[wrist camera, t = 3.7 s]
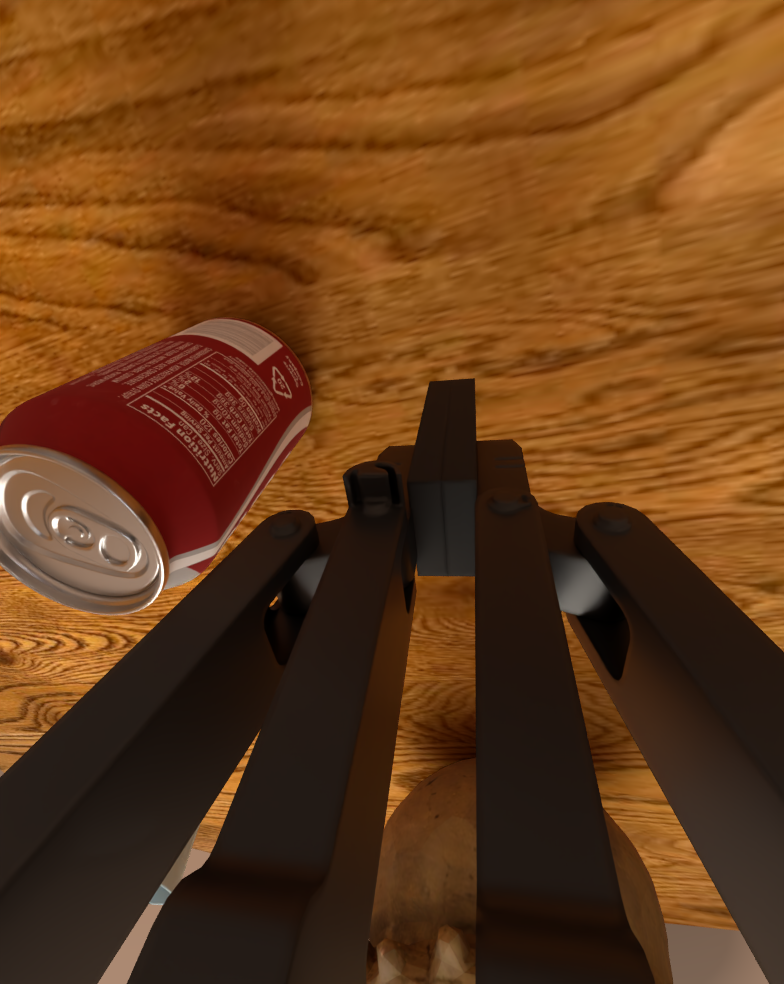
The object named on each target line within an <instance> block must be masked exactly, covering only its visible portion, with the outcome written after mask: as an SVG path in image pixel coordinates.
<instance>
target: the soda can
mask: <svg viewBox="0 0 784 984" xmlns="http://www.w3.org/2000/svg"><path fill="white" fill-rule="evenodd" d="M312 403H313V401H312V391H311V386H310V382H309V379H308V376H307V374H306V371H305V369H304V367H303V365H302V364H301V362H300V360H299V359H298V357H297V356H296V354H295V353H294V352H293V351H292V349H291V348H290V347H289V346H288V345H287V344H286V343H285V342H284V341H283V340H282V339H281V338H279V337H278V336H277V335H276V334H274V333H273V332H272V331H270V330H268V329H267V328H265V327H263V326H261V325H259V324H257V323H254V322H252V321H249V320H245V319H241V318H235V317H219V318H213V319H209V320H206V321H204V322H201V323H199V324H197V325H195V326H192V327H190V328H188V329H186V330H183V331H181V332H179V333H177V334H175V335H172V336H170V337H168V338H166V339H164V340H161V341H159V342H157V343H155V344H152V345H150V346H148V347H146V348H144V349H141V350H139V351H137V352H135V353H132V354H130V355H128V356H126V357H124V358H121V359H119V360H117V361H115V362H112V363H110V364H108V365H106V366H104V367H101V368H99V369H97V370H95V371H92V372H90V373H88V374H86V375H84V376H81V377H79V378H77V379H75V380H73V381H70V382H68V383H66V384H64V385H61V386H59V387H57V388H55V389H53V390H50V391H48V392H46V393H44V394H41V395H39V396H37V397H35V398H33V399H30V400H28V401H26V402H24V403H23V404H21V405H19V406H18V407H16V408H15V409H14V410H13V411H12V412H10V413H9V414H8V415H7V417H6V418H5V419H4V420H3V422H2V423H1V425H0V566H2V567H3V568H4V569H5V570H6V571H7V572H8V573H10V574H11V575H12V576H13V577H15V578H16V579H17V580H19V581H20V582H22V583H23V584H25V585H26V586H28V587H29V588H31V589H32V590H34V591H36V592H37V593H39V594H41V595H43V596H45V597H47V598H49V599H51V600H53V601H55V602H57V603H60V604H62V605H65V606H68V607H71V608H74V609H77V610H80V611H84V612H89V613H94V614H101V615H124V614H130V613H134V612H137V611H139V610H142V609H144V608H145V607H147V606H149V605H150V604H151V603H152V602H153V601H155V600H156V598H157V597H158V596H159V595H160V594H161V592H162V591H163V590H165V589H169V588H172V587H176V586H179V585H182V584H184V583H186V582H189V581H191V580H192V579H194V578H195V577H197V576H198V575H200V574H201V573H202V572H203V571H204V570H205V569H206V568H207V567H208V566H209V565H210V563H211V562H212V561H213V559H214V558H215V556H216V555H217V554H218V552H219V551H220V550H221V548H222V547H223V545H224V544H225V543H226V541H227V540H228V538H229V537H230V536H231V534H232V533H233V531H234V530H235V529H236V527H237V526H238V525H239V523H240V522H241V520H242V519H243V518H244V516H245V515H246V513H247V512H248V511H249V509H250V508H251V507H252V505H253V504H254V502H255V501H256V500H257V498H258V497H259V495H260V494H261V493H262V491H263V490H264V488H265V487H266V486H267V484H268V483H269V482H270V480H271V479H272V477H273V476H274V475H275V473H276V472H277V470H278V469H279V468H280V466H281V465H282V463H283V462H284V461H285V459H286V458H287V457H288V455H289V454H290V452H291V451H292V450H293V448H294V447H295V445H296V444H297V443H298V441H299V440H300V438H301V437H302V436H303V434H304V433H305V431H306V429H307V427H308V425H309V422H310V418H311V414H312Z"/></svg>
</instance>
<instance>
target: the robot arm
mask: <svg viewBox="0 0 784 984" xmlns="http://www.w3.org/2000/svg"><path fill="white" fill-rule="evenodd" d="M343 480H344V485H345V490H346V495H347V500H348V505H349V508H348V510H347V513H346V515H345V516H344V517H342V518H339V519H336V520H332V521H328V522H323V523H319V524H315V520H314V517H313V516H312V515H311V514H310V513H309V512H306V511H303V510H286V511H282V512H279V513H277V514H275V515H272V516H270V517H268V518H267V519H266V520H264V521H263V522H262V523H261V524H259V525H258V526H257V527H256V528H255V529H254V530H253V531H252V532H251V533H250V534H249V535H248V536H247V537H246V538H245V539H244V540H243V541H242V542H241V543H240V544H239V545H238V546H237V547H236V548H235V549H234V550H233V551H232V552H231V553H230V554H229V555H228V556H227V557H226V558H225V559H224V560H223V561H222V562H221V563H220V564H218V565H217V566H216V567H215V568H214V569H213V570H212V571H211V572H210V573H209V574H208V575H207V576H206V577H205V578H204V579H203V580H202V581H201V582H200V583H199V584H198V585H197V586H196V587H195V588H194V589H193V590H192V591H191V592H190V593H189V594H188V595H187V596H186V597H185V598H184V599H183V600H182V601H181V602H180V603H178V604H177V605H176V606H175V607H174V608H173V609H172V610H171V611H170V612H169V613H168V614H167V615H166V616H165V617H164V618H163V619H162V620H161V621H160V622H159V623H158V624H157V625H156V626H155V627H154V628H153V629H152V630H151V631H150V632H149V633H148V634H147V635H146V636H145V637H144V638H143V639H142V640H141V641H140V642H139V643H137V644H136V645H135V646H134V647H133V648H132V649H131V650H130V651H129V652H128V653H127V654H126V655H125V656H124V657H123V658H122V659H121V660H120V661H119V662H118V663H117V664H116V665H115V666H114V667H113V668H112V669H111V670H110V671H109V672H108V673H107V674H106V675H105V676H104V677H103V678H102V679H101V680H100V681H99V682H98V683H96V684H95V685H94V686H93V687H92V688H91V689H90V690H89V691H88V692H87V693H86V694H85V695H84V696H83V697H82V698H81V699H80V700H79V701H78V702H77V703H76V704H75V705H74V706H73V707H72V708H71V709H70V710H69V711H68V712H67V713H66V714H65V715H64V716H63V717H62V718H61V719H60V720H59V721H58V722H56V723H55V724H54V725H53V726H52V727H51V728H50V729H49V730H48V731H47V732H46V733H45V734H44V735H43V736H42V737H41V738H40V739H39V740H38V741H37V742H36V743H35V744H34V745H33V746H32V747H31V748H30V749H29V750H28V751H27V752H26V753H25V754H24V755H23V756H22V757H21V758H20V759H19V760H18V761H17V762H15V763H14V764H13V765H12V766H11V767H10V768H9V769H8V770H7V771H6V772H5V773H4V774H3V775H2V776H1V777H0V984H97V983H98V982H99V980H100V979H101V977H102V976H103V974H104V972H105V971H106V969H107V968H108V966H109V965H110V963H111V961H112V960H113V958H114V957H115V955H116V954H117V952H118V951H119V949H120V948H121V946H122V944H123V943H124V941H125V940H126V938H127V937H128V935H129V933H130V932H131V930H132V929H133V927H134V926H135V924H136V922H137V921H138V919H139V918H140V916H141V915H142V913H143V912H144V910H145V909H146V907H147V905H148V904H149V902H150V901H151V899H152V898H153V896H154V895H155V893H156V891H157V890H158V888H159V887H160V885H161V884H162V882H163V880H164V879H165V877H166V876H167V874H168V873H169V871H170V870H171V868H172V866H173V865H174V863H175V862H176V860H177V859H178V857H179V856H180V854H181V852H182V851H183V849H184V848H185V846H186V845H187V843H188V842H189V840H190V838H191V837H192V835H193V834H194V832H195V831H196V829H197V827H198V826H199V824H200V823H201V821H202V820H203V818H204V817H205V815H206V813H207V812H208V810H209V809H210V807H211V806H212V804H213V803H214V801H215V799H216V798H217V796H218V795H219V793H220V792H221V790H222V789H223V787H224V785H225V784H226V782H227V781H228V779H229V778H230V776H231V774H232V773H233V771H234V770H235V768H236V767H237V765H238V764H239V762H240V760H241V759H242V757H243V756H244V754H245V753H246V751H247V750H248V748H249V746H250V745H251V743H252V742H253V740H254V739H255V737H256V736H257V734H258V732H259V731H260V733H259V735H258V738H257V740H256V743H255V746H254V748H253V751H252V753H251V756H250V758H249V761H248V763H247V766H246V768H245V771H244V773H243V776H242V778H241V781H240V783H239V786H238V789H237V791H236V794H235V796H234V799H233V801H232V804H231V806H230V809H229V811H228V814H227V816H226V819H225V821H224V824H223V826H222V829H221V832H220V834H219V837H218V839H217V842H216V844H215V846H214V848H213V850H212V852H211V854H210V857H209V858H208V860H207V861H206V862H205V863H204V865H203V866H202V867H201V868H199V869H198V870H196V871H194V872H193V873H191V874H190V875H188V876H187V877H185V878H183V879H182V880H181V881H180V882H179V883H178V885H177V886H176V887H175V888H174V890H173V891H172V892H171V894H170V895H169V896H168V897H167V899H166V901H165V903H164V904H163V906H162V908H161V910H160V912H159V914H158V916H157V918H156V920H155V922H154V924H153V926H152V928H151V930H150V932H149V934H148V937H147V939H146V941H145V943H144V946H143V948H142V950H141V953H140V955H139V957H138V960H137V962H136V964H135V966H134V969H133V971H132V973H131V976H130V978H129V980H128V983H127V984H366V961H367V949H368V940H369V933H370V926H371V918H372V911H373V904H374V897H375V889H376V882H377V875H378V867H379V860H380V853H381V846H382V838H383V831H384V824H385V816H386V809H387V802H388V795H389V787H390V780H391V773H392V765H393V758H394V751H395V744H396V736H397V729H398V722H399V714H400V707H401V700H402V693H403V685H404V678H405V671H406V664H407V656H408V649H409V642H410V634H411V627H412V620H413V613H414V605H415V598H416V584H415V576H414V575H415V569H416V563H417V571H418V576H475V658H476V861H477V903H476V956H475V984H655V980H654V977H653V974H652V971H651V968H650V966H649V963H648V960H647V957H646V955H645V952H644V949H643V948H642V946H641V944H640V943H639V941H638V940H637V938H636V936H635V935H634V933H633V931H632V930H631V928H630V925H629V922H628V919H627V916H626V913H625V909H624V905H623V901H622V897H621V892H620V887H619V882H618V878H617V873H616V868H615V864H614V859H613V854H612V850H611V845H610V840H609V835H608V831H607V826H606V821H605V817H604V812H603V807H602V803H601V798H600V793H599V788H598V784H597V779H596V774H595V770H594V765H593V760H592V756H591V751H590V746H589V741H588V737H587V732H586V727H585V723H584V718H583V713H582V709H581V704H580V699H579V694H578V690H577V685H576V680H575V676H574V671H573V666H572V662H571V657H570V652H569V647H568V643H567V638H566V633H565V629H564V624H563V619H562V615H561V611H563V612H566V615H567V619H568V622H569V623H570V625H571V627H572V629H573V631H574V632H575V634H576V636H577V638H578V640H579V641H580V643H581V645H582V647H583V649H584V650H585V652H586V654H587V656H588V658H589V659H590V661H591V663H592V665H593V667H594V668H595V670H596V672H597V674H598V676H599V677H600V679H601V681H602V683H603V685H604V686H605V688H606V690H607V692H608V694H609V695H610V697H611V699H612V701H613V703H614V705H615V706H616V708H617V710H618V712H619V714H620V715H621V717H622V719H623V721H624V723H625V724H626V726H627V728H628V730H629V732H630V733H631V735H632V737H633V739H634V741H635V742H636V744H637V746H638V748H639V750H640V751H641V753H642V755H643V757H644V759H645V760H646V762H647V764H648V766H649V768H650V769H651V771H652V773H653V775H654V777H655V778H656V780H657V782H658V784H659V786H660V787H661V789H662V791H663V793H664V795H665V796H666V798H667V800H668V802H669V804H670V806H671V807H672V809H673V811H674V813H675V815H676V816H677V818H678V820H679V822H680V824H681V825H682V827H683V829H684V831H685V833H686V834H687V836H688V838H689V840H690V842H691V843H692V845H693V847H694V849H695V851H696V852H697V854H698V856H699V858H700V860H701V861H702V863H703V865H704V867H705V869H706V870H707V872H708V874H709V876H710V878H711V879H712V881H713V883H714V885H715V887H716V888H717V890H718V892H719V894H720V896H721V897H722V899H723V901H724V903H725V905H726V907H727V908H728V910H729V912H730V914H731V916H732V917H733V919H734V921H735V923H736V925H737V926H738V928H739V930H740V932H741V934H742V935H743V937H744V939H745V941H746V943H747V944H748V946H749V948H750V950H751V952H752V953H753V955H754V957H755V959H756V960H757V962H758V964H759V966H760V968H761V969H762V971H763V973H764V975H765V977H766V979H767V980H768V982H769V984H784V652H783V651H782V650H781V649H780V648H779V647H778V646H777V645H776V644H775V643H774V642H773V641H772V640H771V639H770V638H769V637H768V636H767V635H766V634H765V633H764V632H763V631H762V630H761V629H760V628H759V627H758V626H757V625H756V624H755V623H754V622H753V621H752V620H751V619H750V618H749V617H748V616H747V615H746V614H745V613H744V612H742V611H741V610H740V609H739V608H738V607H737V606H736V605H735V604H734V603H733V602H732V601H731V600H730V599H729V598H728V597H727V596H726V595H725V594H724V593H723V592H722V591H721V590H720V589H719V588H718V587H717V586H716V585H715V584H714V583H713V582H712V581H711V580H710V579H709V578H708V577H707V576H706V575H705V574H704V573H703V572H702V571H701V570H700V569H699V568H698V567H697V566H696V565H695V564H694V563H693V562H692V561H691V560H690V559H689V558H688V557H687V556H686V555H685V554H684V553H683V552H682V551H681V550H680V549H679V548H678V547H677V546H676V545H675V544H674V543H673V542H672V541H671V540H670V539H669V538H668V537H667V536H666V535H665V534H664V533H663V532H662V531H661V530H660V529H659V528H658V527H657V526H656V525H655V524H654V523H653V522H651V521H650V520H649V519H648V518H647V517H646V516H645V515H644V514H642V513H641V512H640V511H638V510H637V509H635V508H632V507H629V506H626V505H624V504H619V503H612V502H602V503H594V504H590V505H587V506H585V507H583V508H582V509H581V510H579V511H578V513H577V516H576V518H573V517H567V516H562V515H557V514H553V513H551V512H548V511H546V510H544V509H542V508H541V507H539V506H538V502H537V501H536V499H535V497H534V496H533V495H531V493H530V488H529V483H528V478H527V473H526V468H525V463H524V459H523V453H522V448H521V447H520V446H519V445H518V444H517V443H516V442H514V441H513V440H490V441H476V407H475V378H473V379H459V380H445V381H431V382H430V383H429V387H428V391H427V396H426V400H425V404H424V409H423V413H422V417H421V422H420V426H419V430H418V435H417V439H416V443H415V445H408V446H389V447H388V448H386V449H385V450H384V451H383V452H382V453H381V454H379V456H378V459H377V460H376V461H369V462H364V463H361V464H358V465H355V466H353V467H352V468H350V469H348V470H347V471H346V472H345V473H344V475H343ZM276 596H277V597H278V600H277V601H276V602H275V604H274V605H273V606H271V607H269V605H270V604H271V602H272V601H273V600H274V599H275V597H276ZM260 729H261V730H260Z"/></svg>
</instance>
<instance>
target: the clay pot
mask: <svg viewBox="0 0 784 984" xmlns="http://www.w3.org/2000/svg"><path fill="white" fill-rule="evenodd" d="M603 812H604V817H605V821H606V826H607V831H608V835H609V840H610V845H611V850H612V854H613V859H614V864H615V868H616V873H617V878H618V882H619V887H620V892H621V897H622V901H623V905H624V909H625V913H626V916H627V919H628V922H629V925H630V928H631V930H632V931H633V933H634V935H635V936H636V938H637V940H638V941H639V943H640V944H641V946H642V948H643V949H644V952H645V955H646V957H647V960H648V963H649V966H650V968H651V971H652V974H653V977H654V980H655V984H673V977H672V972H671V965H670V959H669V952H668V939H667V934H666V928H665V923H664V919H663V915H662V912H661V908H660V905H659V901H658V898H657V894H656V891H655V888H654V884H653V881H652V879H651V877H650V874H649V872H648V870H647V868H646V867H645V865H644V863H643V861H642V859H641V857H640V855H639V854H638V852H637V850H636V848H635V847H634V845H633V844H632V843H631V841H630V840H629V838H628V837H627V836H626V834H625V833H624V832H623V831H622V830H621V829H620V827H619V826H618V825H617V824H616V823H615V822H614V820H613V819H612V818H611V817H610V816H609V815H608V813H607V812H606V811H605V810H604V809H603ZM476 903H477V861H476V758H472V759H467V760H462V761H458V762H456V763H453V764H451V765H449V766H446V767H444V768H442V769H440V770H439V771H437V772H435V773H434V774H432V775H431V776H429V777H428V778H426V779H425V780H423V781H421V782H420V783H419V784H418V785H417V786H416V787H415V789H414V790H413V791H412V792H411V793H410V794H409V795H408V796H407V797H406V798H405V799H404V800H403V801H402V802H401V803H400V805H399V806H398V807H397V808H396V810H395V811H394V812H393V814H392V815H391V817H390V818H389V820H388V821H387V824H386V826H385V828H384V831H383V838H382V846H381V853H380V860H379V867H378V875H377V882H376V889H375V897H374V904H373V911H372V918H371V926H370V933H369V940H368V949H367V961H366V984H475V956H476Z"/></svg>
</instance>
